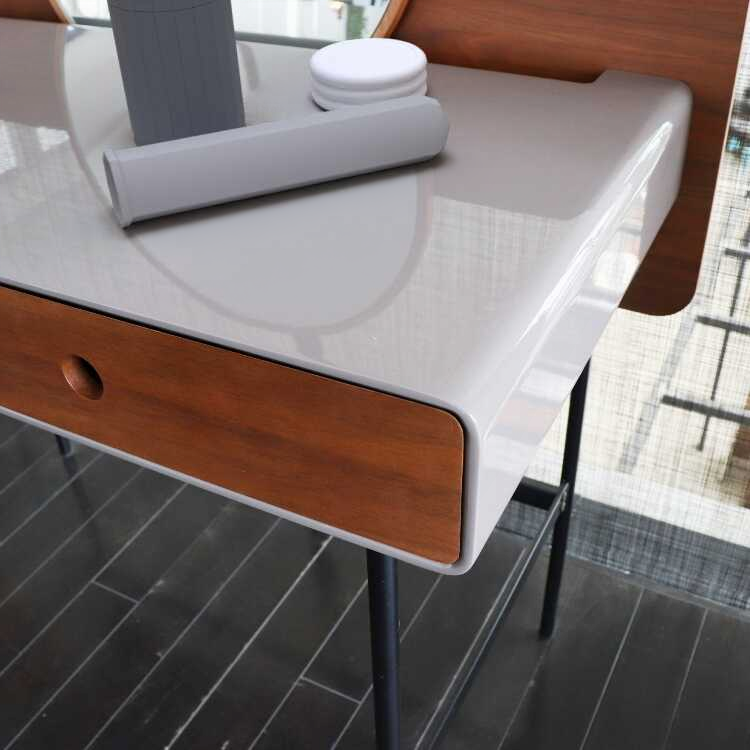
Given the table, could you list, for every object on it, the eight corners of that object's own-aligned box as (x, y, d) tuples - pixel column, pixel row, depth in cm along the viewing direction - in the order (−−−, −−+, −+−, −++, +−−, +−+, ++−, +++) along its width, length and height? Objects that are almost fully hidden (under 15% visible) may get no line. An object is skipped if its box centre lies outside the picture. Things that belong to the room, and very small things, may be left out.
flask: (128, 160, 77) (90, -29, 69) (140, 115, 84) (107, -60, 76) (245, 151, 78) (221, -37, 69) (246, 108, 85) (225, -68, 77)
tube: (425, 87, 76) (98, 147, 69) (456, 86, 72) (107, 151, 64) (435, 157, 78) (116, 223, 71) (465, 161, 73) (127, 233, 66)
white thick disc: (441, 109, 83) (441, 68, 81) (323, 124, 81) (320, 82, 79) (410, 69, 91) (409, 30, 89) (302, 82, 89) (299, 43, 87)
